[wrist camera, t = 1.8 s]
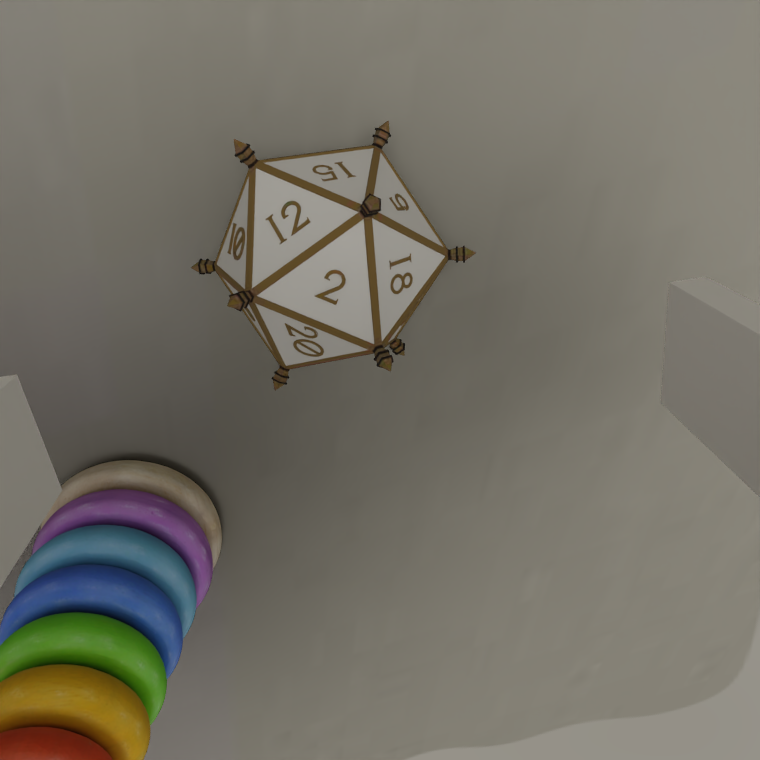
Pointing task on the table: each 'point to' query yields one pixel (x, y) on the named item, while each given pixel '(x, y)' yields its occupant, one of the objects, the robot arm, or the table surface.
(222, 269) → the game die
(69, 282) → the table surface
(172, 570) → the stacking toy
